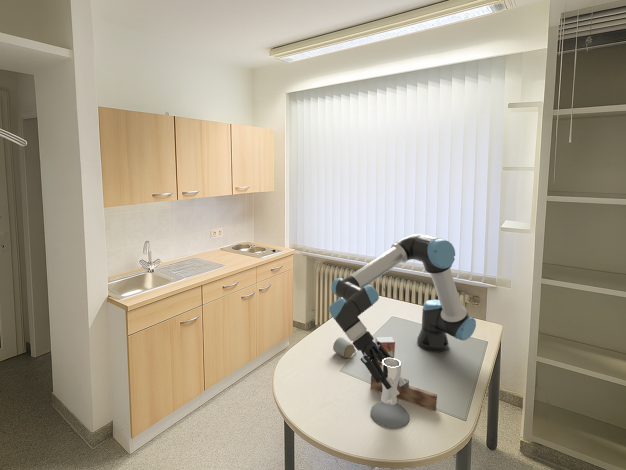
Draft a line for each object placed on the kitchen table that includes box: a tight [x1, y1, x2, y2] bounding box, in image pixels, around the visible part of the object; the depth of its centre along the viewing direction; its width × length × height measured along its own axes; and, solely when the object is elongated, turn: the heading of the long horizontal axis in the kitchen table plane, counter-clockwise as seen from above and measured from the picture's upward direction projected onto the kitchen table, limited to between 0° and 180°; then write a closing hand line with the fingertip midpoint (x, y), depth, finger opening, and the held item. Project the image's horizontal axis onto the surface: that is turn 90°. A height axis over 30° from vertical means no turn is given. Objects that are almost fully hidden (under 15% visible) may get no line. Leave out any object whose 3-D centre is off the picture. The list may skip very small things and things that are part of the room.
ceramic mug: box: [332, 337, 357, 359], centre depth 180 cm, size 11×8×8 cm
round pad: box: [370, 401, 410, 429], centre depth 138 cm, size 14×14×1 cm
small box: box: [374, 336, 396, 364], centre depth 174 cm, size 8×6×10 cm
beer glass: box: [380, 357, 402, 405], centre depth 135 cm, size 7×7×15 cm
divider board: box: [370, 375, 438, 412], centre depth 147 cm, size 26×2×8 cm, turn 59°
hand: (399, 389), depth 133 cm, fingers closed on beer glass, 6 cm apart
